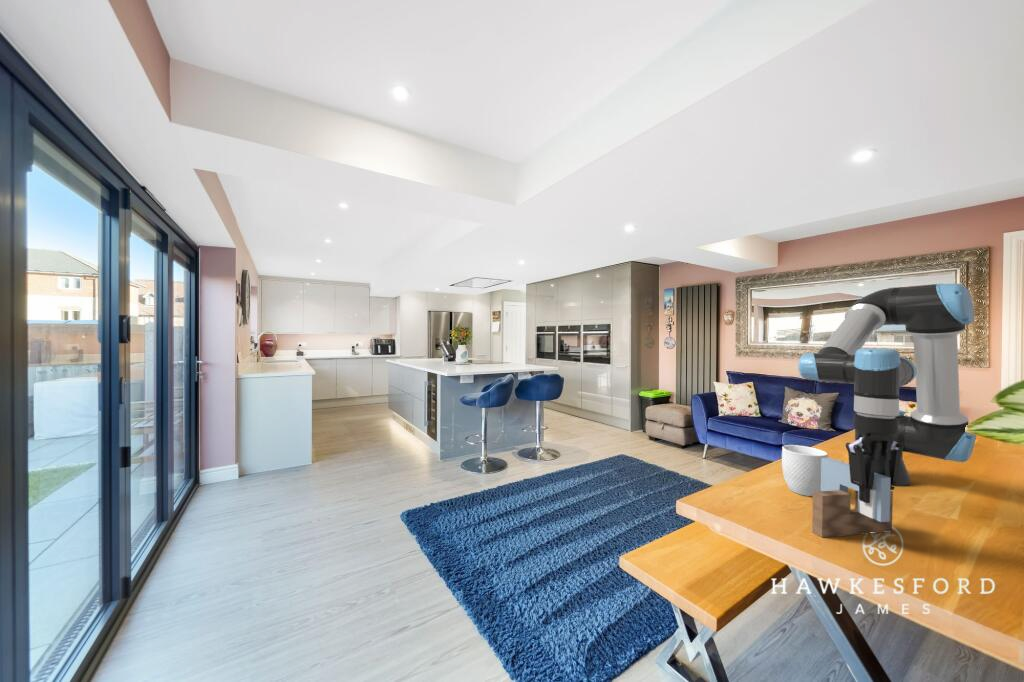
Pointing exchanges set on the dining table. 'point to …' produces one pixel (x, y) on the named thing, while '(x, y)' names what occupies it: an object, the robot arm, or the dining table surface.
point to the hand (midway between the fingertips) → (873, 514)
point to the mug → (802, 468)
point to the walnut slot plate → (843, 515)
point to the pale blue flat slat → (838, 478)
